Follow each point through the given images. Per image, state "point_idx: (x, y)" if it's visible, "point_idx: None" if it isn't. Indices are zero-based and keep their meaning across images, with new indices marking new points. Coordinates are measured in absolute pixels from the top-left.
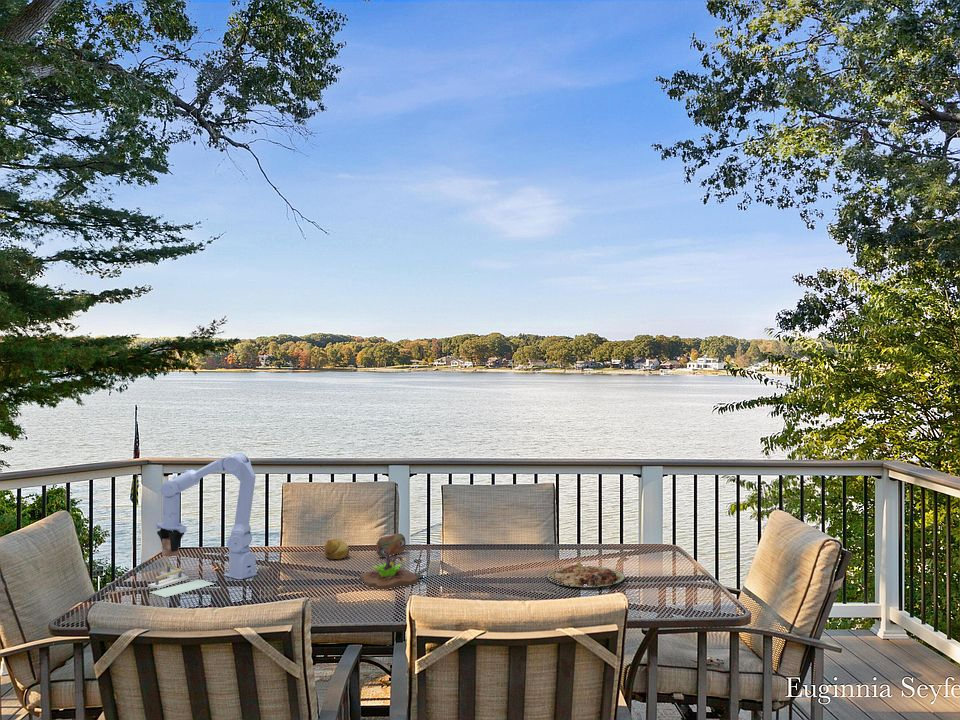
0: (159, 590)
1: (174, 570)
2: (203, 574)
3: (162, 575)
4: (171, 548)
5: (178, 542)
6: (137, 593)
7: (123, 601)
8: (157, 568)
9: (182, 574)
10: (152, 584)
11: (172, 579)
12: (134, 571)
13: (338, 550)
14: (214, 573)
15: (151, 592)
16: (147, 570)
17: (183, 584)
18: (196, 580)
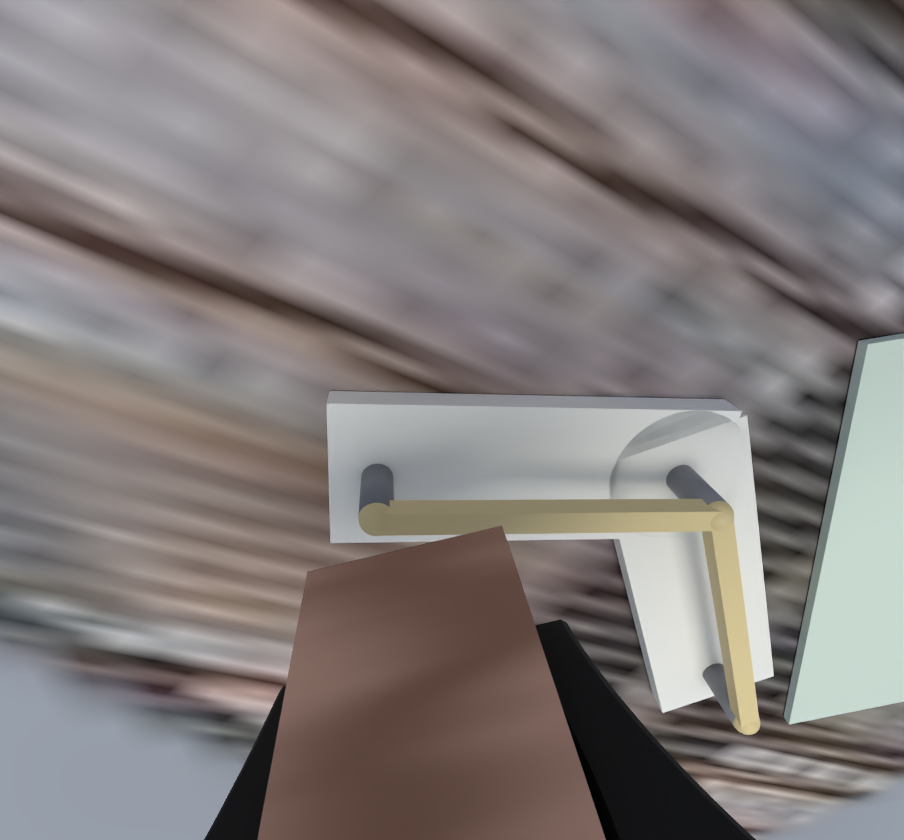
0: (815, 675)
1: (381, 417)
2: (694, 181)
3: (751, 691)
4: None
5: (651, 775)
6: (713, 757)
7: (781, 824)
8: (12, 455)
9: (616, 423)
10: (687, 693)
11: (694, 552)
12: (25, 646)
13: None
14: (778, 39)
15: (805, 717)
16: (54, 555)
17: (857, 516)
18: (865, 384)
